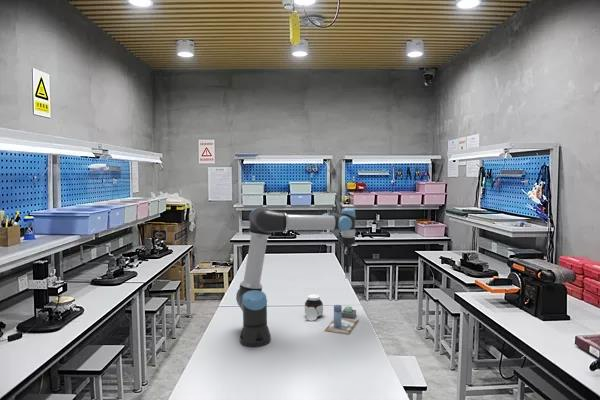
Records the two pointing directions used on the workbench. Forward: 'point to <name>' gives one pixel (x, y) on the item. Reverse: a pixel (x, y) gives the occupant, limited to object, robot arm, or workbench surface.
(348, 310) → the button
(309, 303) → the spread jar
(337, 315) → the blue cylinder
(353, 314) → the button housing
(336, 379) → the workbench surface
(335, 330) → the picture frame
